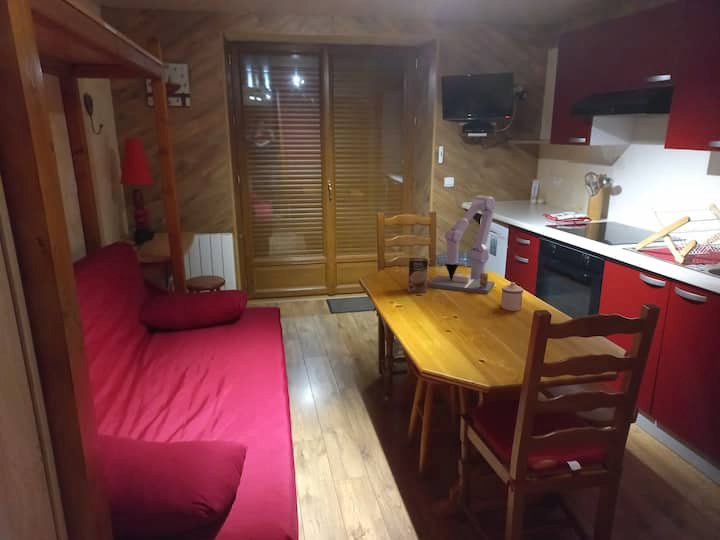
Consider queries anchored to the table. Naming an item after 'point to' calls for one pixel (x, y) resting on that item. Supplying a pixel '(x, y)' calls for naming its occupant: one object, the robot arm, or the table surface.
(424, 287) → the coffee box
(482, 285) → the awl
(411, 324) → the table surface
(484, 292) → the subfloor board
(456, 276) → the stud finder
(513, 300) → the teacup with lid
